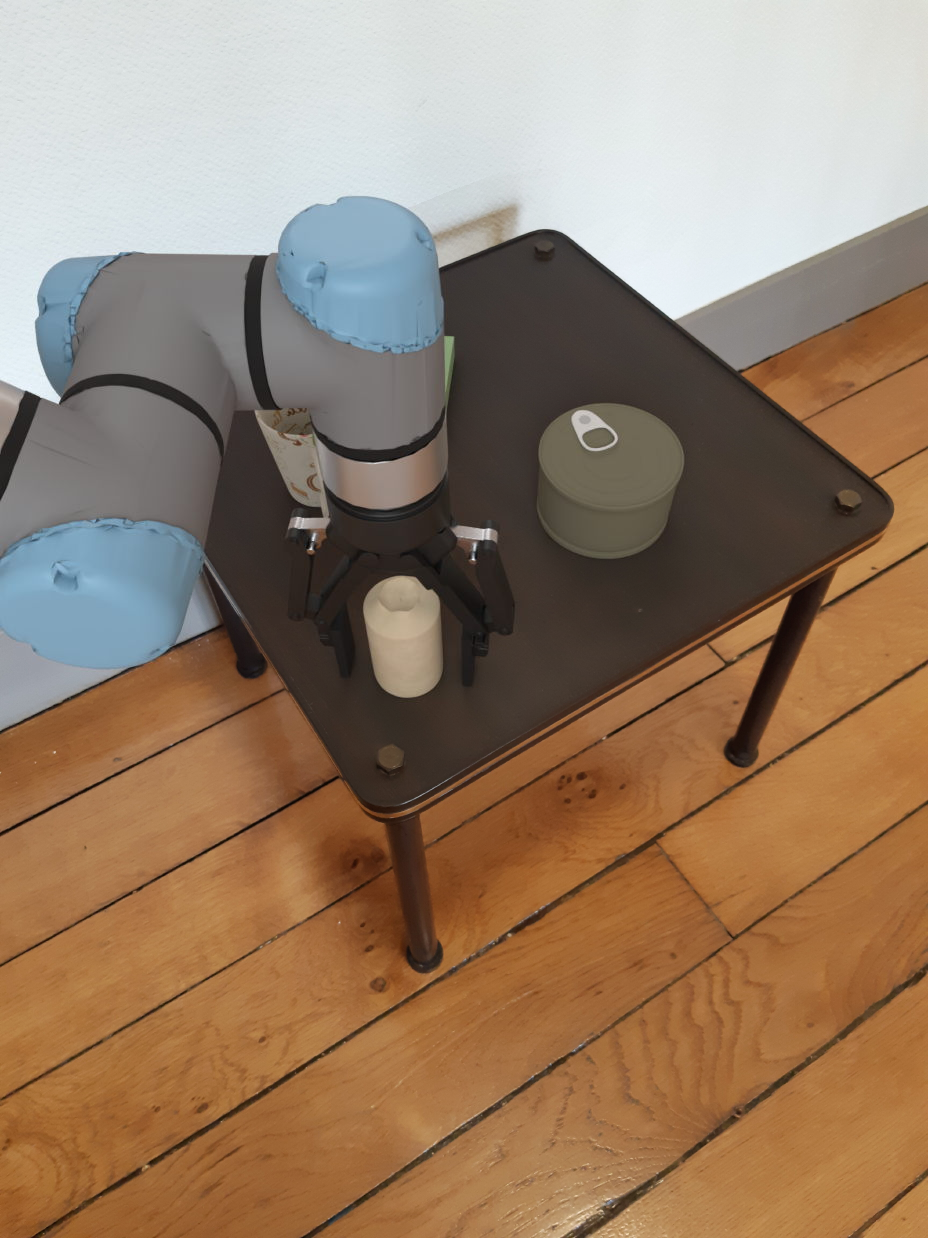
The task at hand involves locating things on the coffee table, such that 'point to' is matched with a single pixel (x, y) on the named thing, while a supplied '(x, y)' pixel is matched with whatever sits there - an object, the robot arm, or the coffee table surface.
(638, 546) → the can
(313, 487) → the mug
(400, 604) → the candle
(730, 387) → the coffee table surface
